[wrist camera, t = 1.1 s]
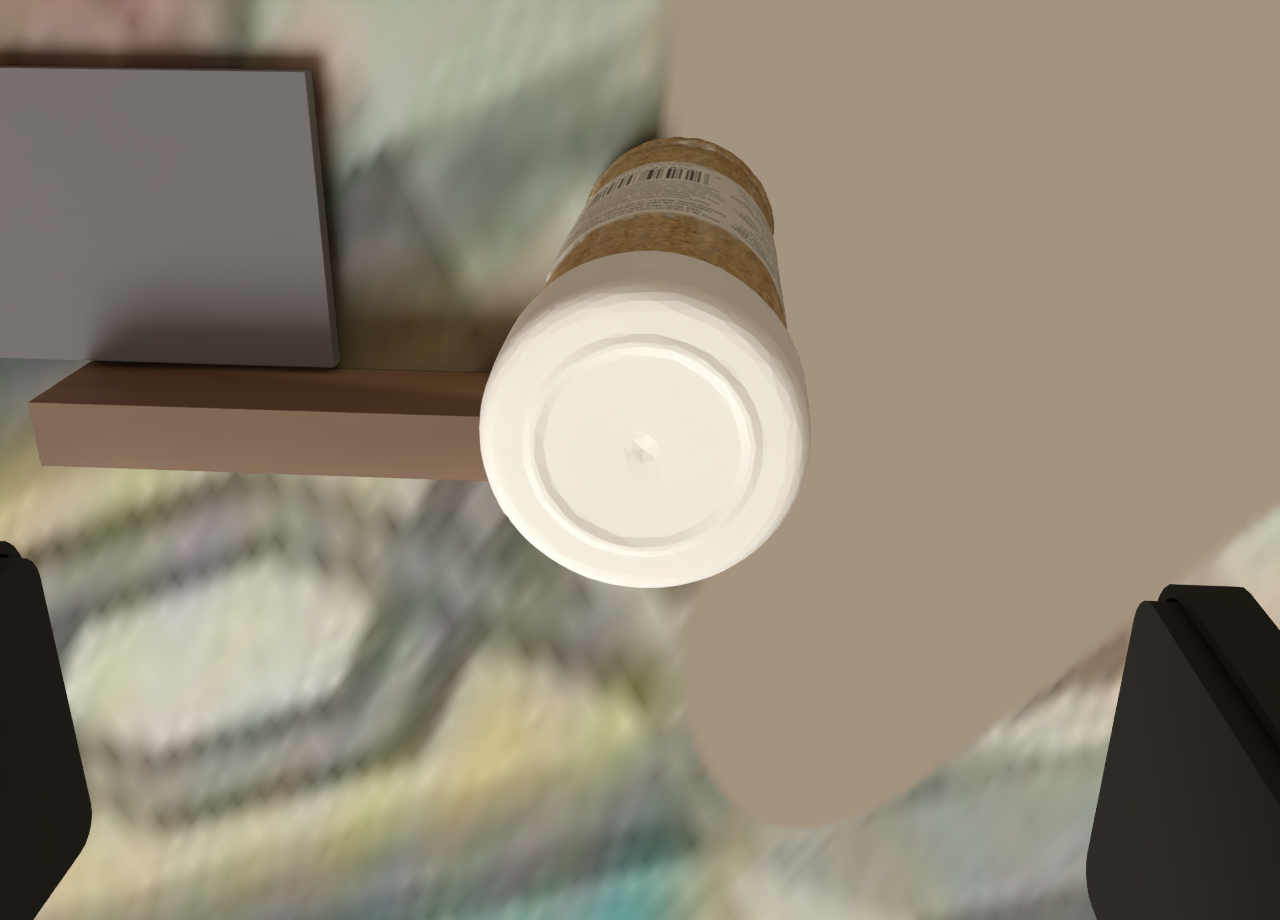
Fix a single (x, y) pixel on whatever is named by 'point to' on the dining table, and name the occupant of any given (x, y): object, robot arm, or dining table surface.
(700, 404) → the sprinkles bottle
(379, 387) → the guide rail
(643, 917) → the dining table surface
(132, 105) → the end pad
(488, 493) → the dining table surface
